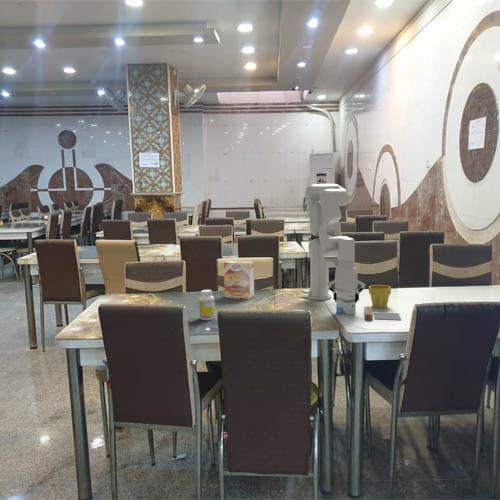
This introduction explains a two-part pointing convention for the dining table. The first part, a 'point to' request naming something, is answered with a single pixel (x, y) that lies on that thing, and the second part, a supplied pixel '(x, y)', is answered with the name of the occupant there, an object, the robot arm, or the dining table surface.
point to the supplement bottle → (207, 305)
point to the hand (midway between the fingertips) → (346, 301)
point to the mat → (387, 316)
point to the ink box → (346, 302)
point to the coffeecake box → (239, 279)
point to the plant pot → (379, 295)
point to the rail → (368, 313)
